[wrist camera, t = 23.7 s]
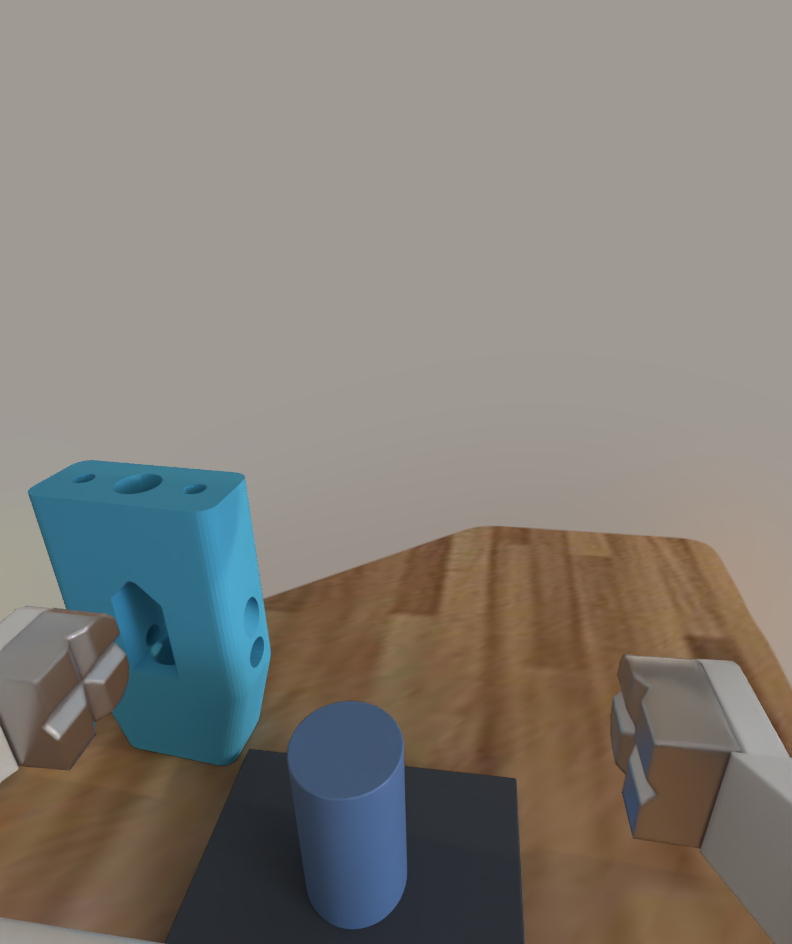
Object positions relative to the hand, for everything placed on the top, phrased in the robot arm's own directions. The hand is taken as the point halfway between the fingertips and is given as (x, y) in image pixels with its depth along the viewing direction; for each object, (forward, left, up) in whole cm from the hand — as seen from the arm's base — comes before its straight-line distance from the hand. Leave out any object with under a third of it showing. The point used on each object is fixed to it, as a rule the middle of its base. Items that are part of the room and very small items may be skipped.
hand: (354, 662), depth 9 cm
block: (+18, -21, -28) cm, 40 cm away
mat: (+4, -12, -28) cm, 31 cm away
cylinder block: (+4, -12, -27) cm, 30 cm away
